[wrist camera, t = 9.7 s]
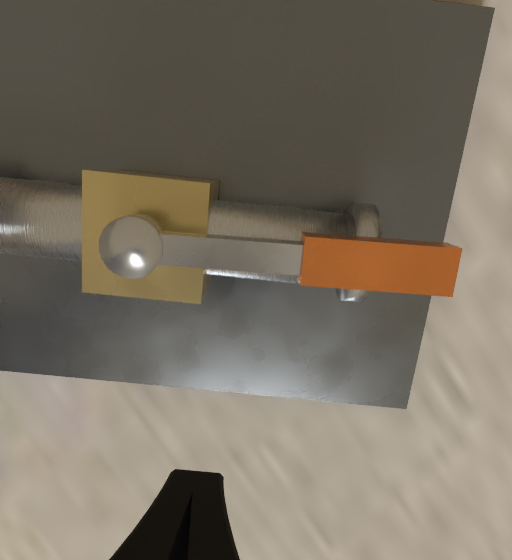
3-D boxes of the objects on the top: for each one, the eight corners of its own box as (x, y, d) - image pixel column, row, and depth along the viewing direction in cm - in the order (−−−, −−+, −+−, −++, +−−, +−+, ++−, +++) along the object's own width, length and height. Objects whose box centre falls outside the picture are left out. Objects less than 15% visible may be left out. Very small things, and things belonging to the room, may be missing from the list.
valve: (-3, 360, 22) (-87, 422, 16) (-25, -45, 17) (-152, -142, 12) (399, 398, 22) (445, 470, 17) (481, 16, 18) (579, -50, 12)
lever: (110, 269, 15) (98, 276, 14) (109, 210, 14) (97, 214, 13) (437, 293, 15) (451, 302, 14) (448, 236, 14) (463, 242, 13)
